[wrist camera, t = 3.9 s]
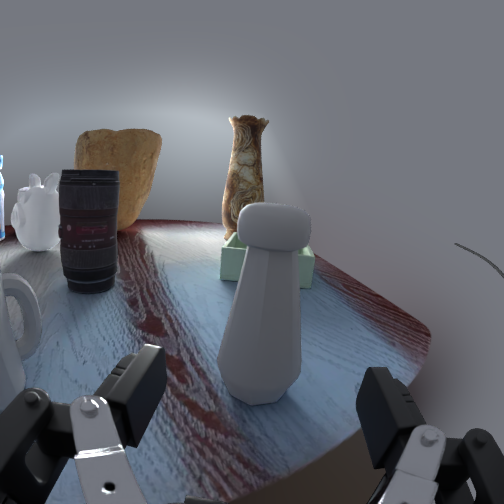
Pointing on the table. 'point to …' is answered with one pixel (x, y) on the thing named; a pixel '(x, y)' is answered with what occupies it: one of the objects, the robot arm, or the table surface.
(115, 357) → the table surface
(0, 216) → the beverage bottle
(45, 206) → the piggy bank
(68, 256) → the camera lens
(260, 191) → the vase
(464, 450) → the robot arm
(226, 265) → the open box
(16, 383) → the cup
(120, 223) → the tan rough tapered pot
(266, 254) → the salt shaker
